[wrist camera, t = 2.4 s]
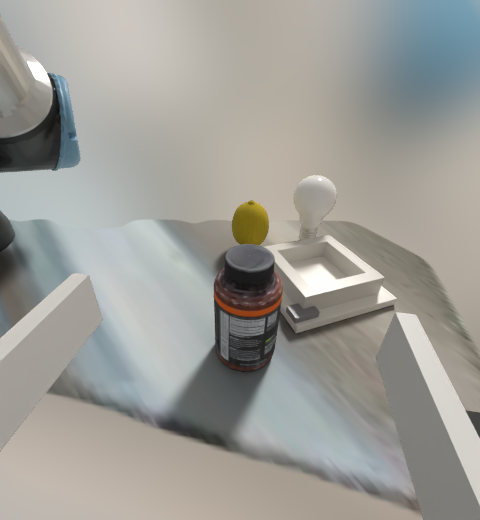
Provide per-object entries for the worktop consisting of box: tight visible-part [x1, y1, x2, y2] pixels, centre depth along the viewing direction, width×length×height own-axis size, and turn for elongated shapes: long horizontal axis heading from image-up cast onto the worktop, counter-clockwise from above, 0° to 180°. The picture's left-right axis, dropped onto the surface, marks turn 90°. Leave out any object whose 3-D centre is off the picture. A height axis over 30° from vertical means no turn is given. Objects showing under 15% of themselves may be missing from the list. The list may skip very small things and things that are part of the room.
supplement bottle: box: [214, 244, 283, 371], centre depth 26 cm, size 6×6×11 cm
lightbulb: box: [293, 175, 337, 240], centre depth 45 cm, size 6×6×11 cm
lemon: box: [232, 200, 269, 245], centre depth 43 cm, size 6×6×8 cm
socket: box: [265, 235, 397, 333], centre depth 38 cm, size 14×14×4 cm
